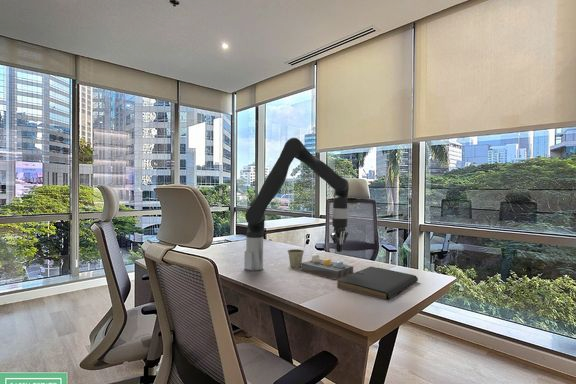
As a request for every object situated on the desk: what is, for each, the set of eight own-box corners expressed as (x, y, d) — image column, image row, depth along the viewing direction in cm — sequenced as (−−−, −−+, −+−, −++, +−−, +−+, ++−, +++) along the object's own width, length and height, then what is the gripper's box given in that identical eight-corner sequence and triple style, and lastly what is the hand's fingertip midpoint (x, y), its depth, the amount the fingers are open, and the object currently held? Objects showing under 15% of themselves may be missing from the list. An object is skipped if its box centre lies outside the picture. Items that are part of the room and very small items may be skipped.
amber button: (327, 270, 154) (327, 260, 154) (321, 269, 157) (321, 259, 157) (332, 269, 157) (332, 259, 157) (326, 267, 160) (326, 258, 160)
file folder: (370, 265, 158) (418, 275, 142) (370, 273, 158) (417, 283, 142) (336, 278, 133) (389, 292, 117) (335, 288, 133) (388, 302, 117)
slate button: (340, 273, 149) (340, 263, 149) (333, 271, 152) (333, 262, 152) (344, 272, 152) (344, 262, 152) (337, 270, 155) (338, 260, 155)
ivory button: (316, 265, 160) (316, 255, 160) (310, 263, 162) (310, 254, 162) (320, 264, 162) (320, 254, 162) (314, 262, 165) (314, 253, 165)
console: (337, 279, 144) (338, 271, 144) (301, 270, 160) (301, 263, 160) (353, 274, 155) (353, 266, 155) (317, 265, 170) (317, 258, 170)
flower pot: (284, 264, 172) (284, 249, 172) (299, 263, 176) (299, 248, 176) (291, 268, 163) (291, 253, 163) (306, 267, 167) (307, 251, 167)
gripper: (340, 216, 159) (340, 248, 159) (326, 217, 150) (325, 252, 150) (353, 217, 154) (352, 251, 154) (338, 218, 145) (338, 254, 145)
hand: (339, 251), depth 152 cm, fingers closed
